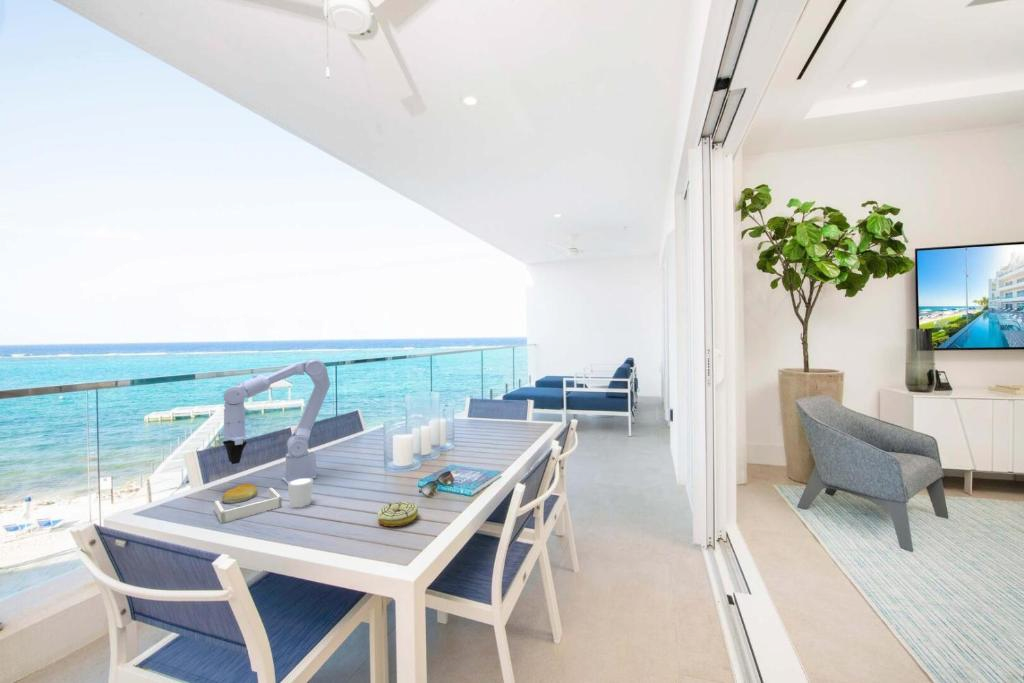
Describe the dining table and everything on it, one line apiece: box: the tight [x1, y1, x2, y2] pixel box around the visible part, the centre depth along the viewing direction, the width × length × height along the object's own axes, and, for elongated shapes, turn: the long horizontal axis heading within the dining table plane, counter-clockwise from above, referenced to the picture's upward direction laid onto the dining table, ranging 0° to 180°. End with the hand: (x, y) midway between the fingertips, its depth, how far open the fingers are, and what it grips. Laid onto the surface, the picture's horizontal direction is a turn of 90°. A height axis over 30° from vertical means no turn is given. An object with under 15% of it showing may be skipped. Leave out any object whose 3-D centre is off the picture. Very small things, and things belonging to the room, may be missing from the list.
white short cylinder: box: [287, 478, 314, 508], centre depth 116 cm, size 7×7×7 cm
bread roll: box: [221, 483, 259, 504], centre depth 121 cm, size 8×9×4 cm
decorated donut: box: [377, 501, 419, 528], centre depth 106 cm, size 10×11×4 cm
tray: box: [214, 487, 283, 524], centre depth 113 cm, size 15×11×3 cm
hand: (234, 462), depth 127 cm, fingers open, 3 cm apart
